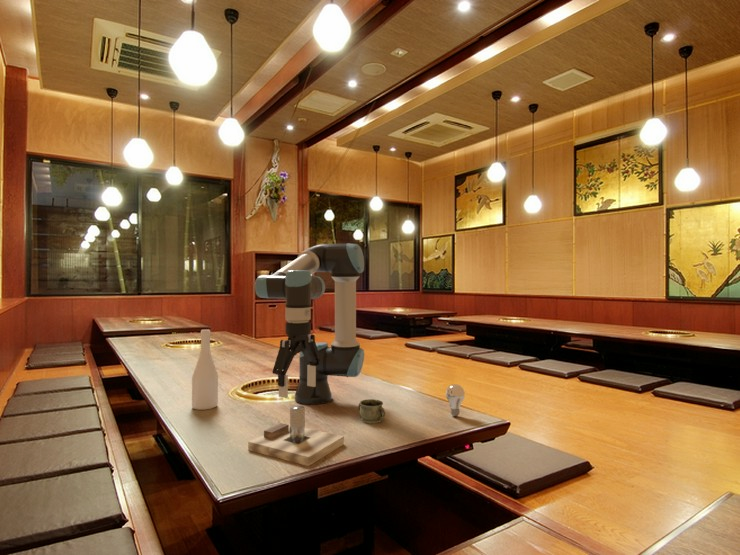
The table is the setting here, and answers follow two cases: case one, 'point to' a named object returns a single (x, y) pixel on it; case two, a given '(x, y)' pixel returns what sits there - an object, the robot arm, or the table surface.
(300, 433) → the shiny metal cylinder
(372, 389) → the table surface
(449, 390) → the light bulb
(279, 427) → the jig
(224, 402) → the table surface
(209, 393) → the wine bottle
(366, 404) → the vessel
